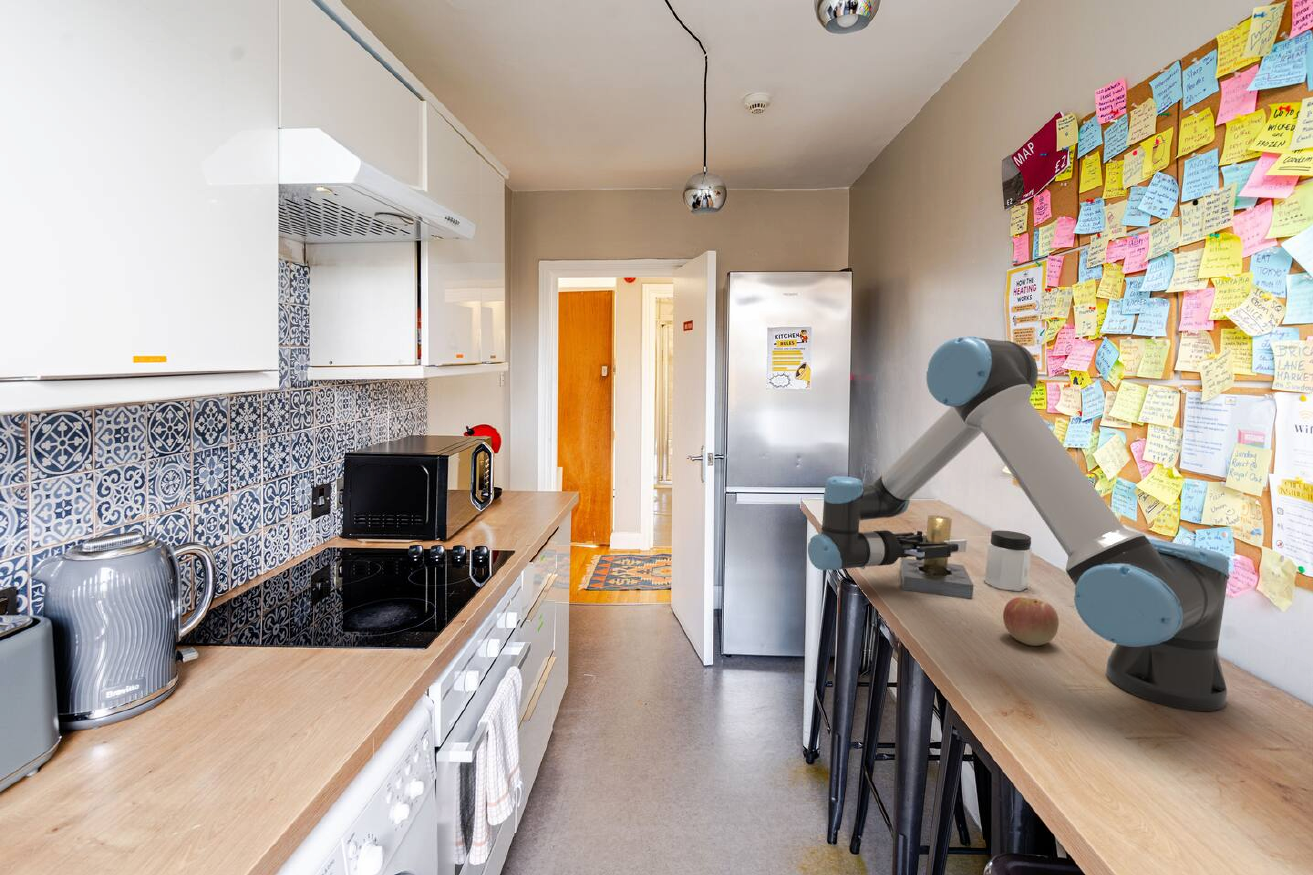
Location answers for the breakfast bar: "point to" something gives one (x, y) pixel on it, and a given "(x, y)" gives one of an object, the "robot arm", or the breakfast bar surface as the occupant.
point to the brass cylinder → (937, 533)
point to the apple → (1030, 621)
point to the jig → (936, 579)
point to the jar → (1008, 560)
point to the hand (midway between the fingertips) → (954, 542)
